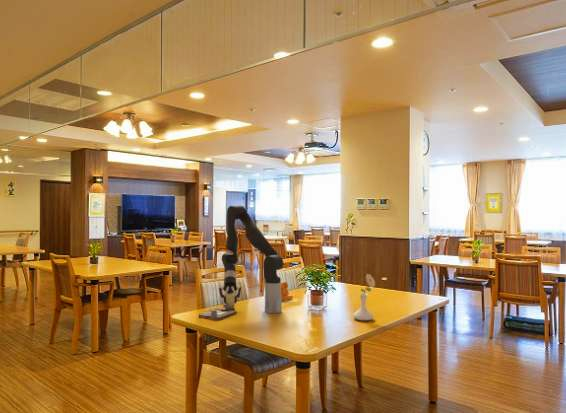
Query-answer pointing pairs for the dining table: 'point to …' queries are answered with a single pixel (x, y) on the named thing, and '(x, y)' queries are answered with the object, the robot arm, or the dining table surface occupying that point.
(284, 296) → the bracket
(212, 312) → the driven shaft
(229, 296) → the coupler
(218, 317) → the coupling base
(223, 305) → the drive shaft
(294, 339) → the dining table surface
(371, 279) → the flower in vase
